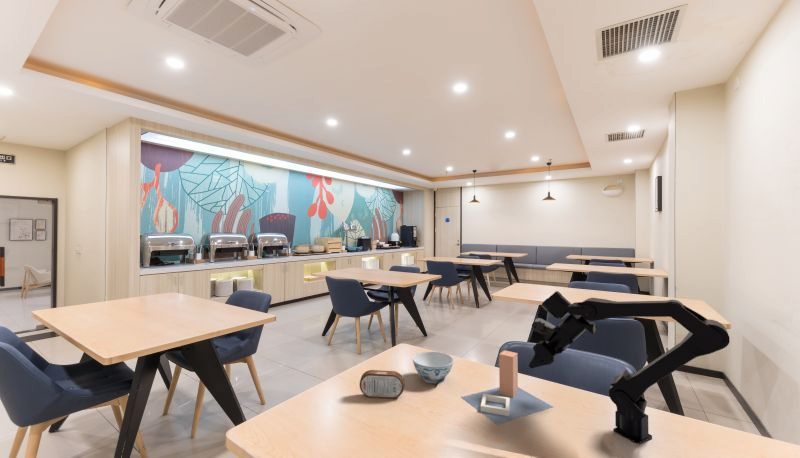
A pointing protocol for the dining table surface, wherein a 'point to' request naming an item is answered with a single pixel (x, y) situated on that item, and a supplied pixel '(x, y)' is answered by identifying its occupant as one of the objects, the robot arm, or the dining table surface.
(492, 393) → the board
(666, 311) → the robot arm
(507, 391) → the terracotta pillar
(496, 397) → the snap socket
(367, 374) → the tin
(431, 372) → the chinaware
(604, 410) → the dining table surface
